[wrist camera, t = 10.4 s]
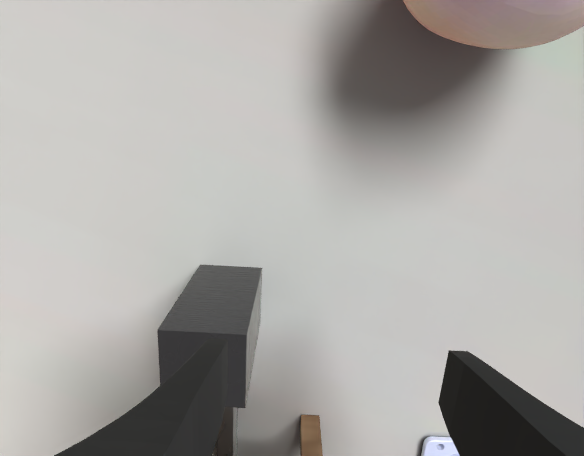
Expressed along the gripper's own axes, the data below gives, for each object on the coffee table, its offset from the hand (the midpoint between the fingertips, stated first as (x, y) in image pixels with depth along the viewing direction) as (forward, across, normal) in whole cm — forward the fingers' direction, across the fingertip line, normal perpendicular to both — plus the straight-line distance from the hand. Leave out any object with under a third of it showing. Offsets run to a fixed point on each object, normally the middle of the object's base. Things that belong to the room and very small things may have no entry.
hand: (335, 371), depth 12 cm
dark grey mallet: (+10, +5, +9) cm, 14 cm away
